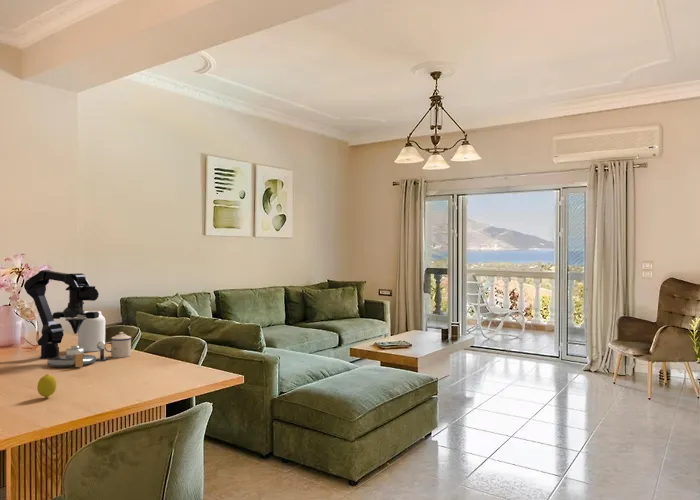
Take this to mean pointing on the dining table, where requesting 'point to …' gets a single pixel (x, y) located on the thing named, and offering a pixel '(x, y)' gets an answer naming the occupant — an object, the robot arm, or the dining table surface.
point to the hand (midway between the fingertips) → (75, 333)
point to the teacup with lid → (120, 346)
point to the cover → (74, 352)
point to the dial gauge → (101, 351)
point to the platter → (71, 360)
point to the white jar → (91, 333)
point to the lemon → (46, 386)
